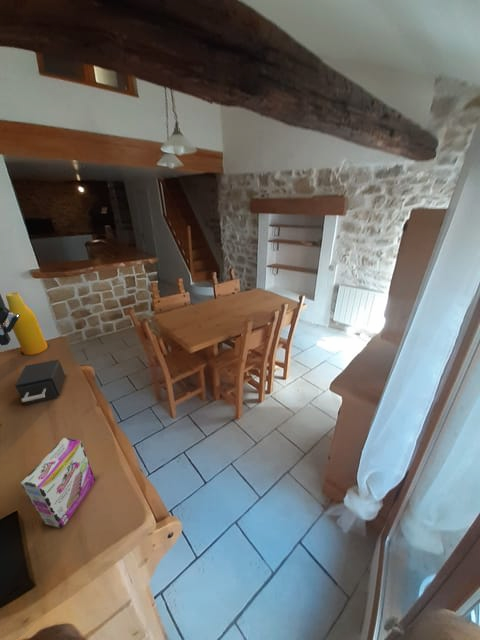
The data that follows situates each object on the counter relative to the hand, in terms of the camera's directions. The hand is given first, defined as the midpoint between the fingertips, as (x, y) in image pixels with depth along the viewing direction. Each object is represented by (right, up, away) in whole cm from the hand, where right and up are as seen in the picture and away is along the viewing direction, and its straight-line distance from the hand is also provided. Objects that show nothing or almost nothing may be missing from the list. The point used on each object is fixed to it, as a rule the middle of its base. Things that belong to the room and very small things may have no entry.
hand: (5, 343), depth 80 cm
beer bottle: (-21, -7, +39) cm, 45 cm away
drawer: (+3, -20, +12) cm, 24 cm away
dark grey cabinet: (+2, -20, +15) cm, 25 cm away
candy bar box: (+34, -38, -18) cm, 54 cm away
